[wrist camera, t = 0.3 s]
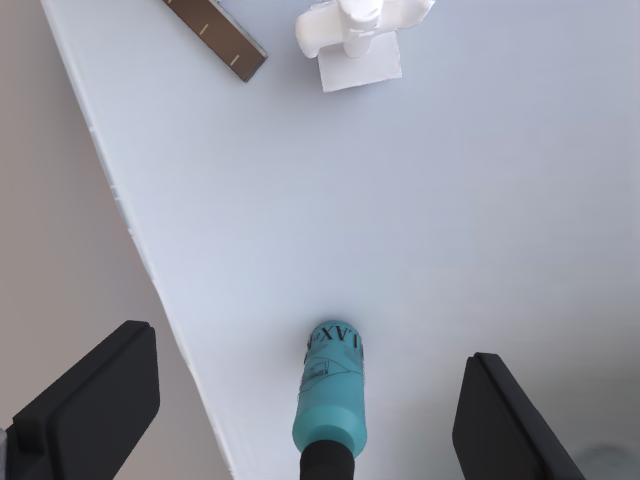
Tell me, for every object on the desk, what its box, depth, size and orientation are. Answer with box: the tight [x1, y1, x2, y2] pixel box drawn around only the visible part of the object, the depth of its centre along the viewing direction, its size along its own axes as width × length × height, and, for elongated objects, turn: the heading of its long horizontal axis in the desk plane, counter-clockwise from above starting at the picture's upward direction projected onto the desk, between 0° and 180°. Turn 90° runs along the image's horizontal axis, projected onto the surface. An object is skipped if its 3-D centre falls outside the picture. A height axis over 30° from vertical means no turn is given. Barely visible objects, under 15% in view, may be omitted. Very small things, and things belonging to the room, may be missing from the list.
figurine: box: [295, 0, 435, 93], centre depth 29 cm, size 7×9×15 cm
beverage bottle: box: [292, 321, 367, 480], centre depth 35 cm, size 6×7×20 cm
